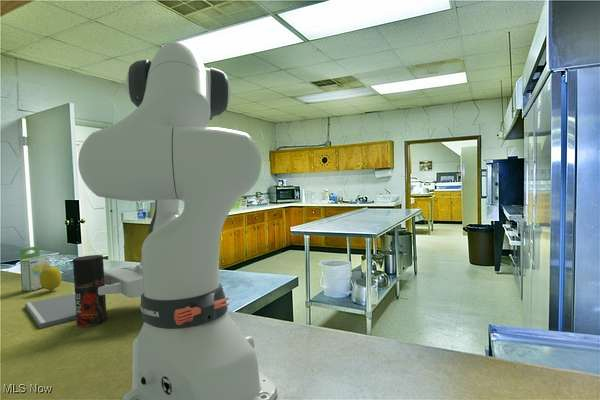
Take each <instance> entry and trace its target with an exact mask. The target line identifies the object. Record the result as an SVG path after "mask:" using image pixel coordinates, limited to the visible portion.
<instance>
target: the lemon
mask: <svg viewBox="0 0 600 400" xmlns="http://www.w3.org/2000/svg"><path fill="white" fill-rule="evenodd" d="M62 278H63V276H62V272H61V270H60V269H59V268H57V267H56V266H52V265H50V266H48V267H47V268H45V269H44V270H43V271H42V272H41V275H40V284H41V286H42V287H43V288H42V289H45V290H48V291H50V290H53V291H54V290H55V289H57V288H58V287H59V286H60V285H61V283H62Z"/></svg>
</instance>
